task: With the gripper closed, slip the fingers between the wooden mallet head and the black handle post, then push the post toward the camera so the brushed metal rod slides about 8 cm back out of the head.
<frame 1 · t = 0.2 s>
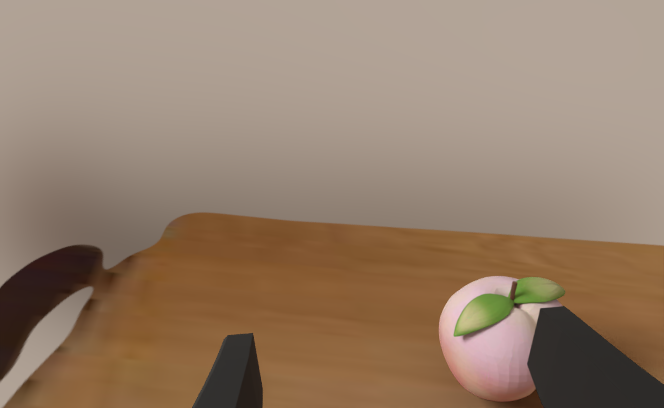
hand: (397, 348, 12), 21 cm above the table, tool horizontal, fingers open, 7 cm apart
decorative fruit: (489, 385, 38), on the table
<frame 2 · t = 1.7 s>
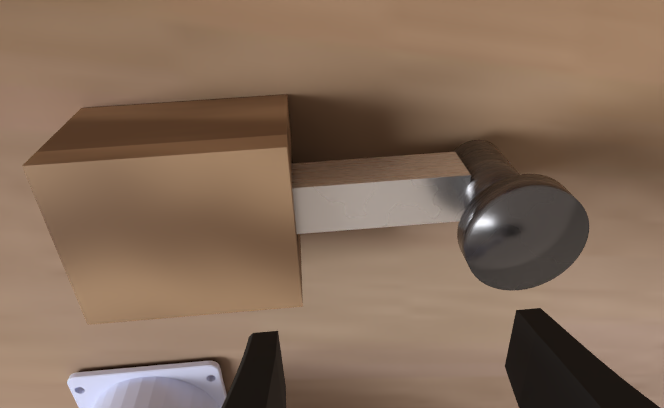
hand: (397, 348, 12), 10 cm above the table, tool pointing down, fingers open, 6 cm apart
handle rod: (315, 213, 18), point 4 cm above the table, slide at 0.0 cm
wooden mallet head: (200, 175, 21), on the table
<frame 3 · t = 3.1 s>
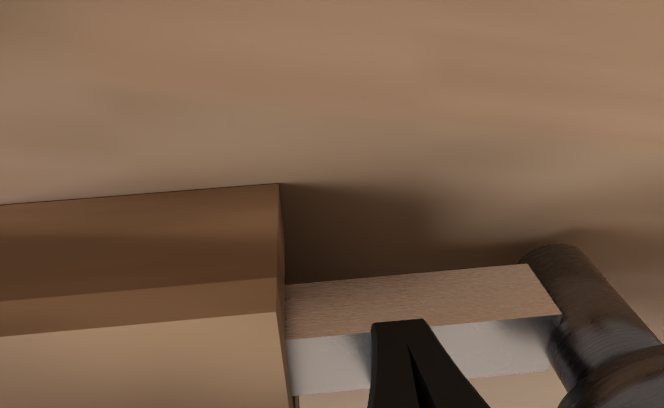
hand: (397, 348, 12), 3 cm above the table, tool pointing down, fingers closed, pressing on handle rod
handle rod: (328, 373, 12), point 4 cm above the table, slide at 0.2 cm, touching gripper
wooden mallet head: (156, 289, 15), on the table
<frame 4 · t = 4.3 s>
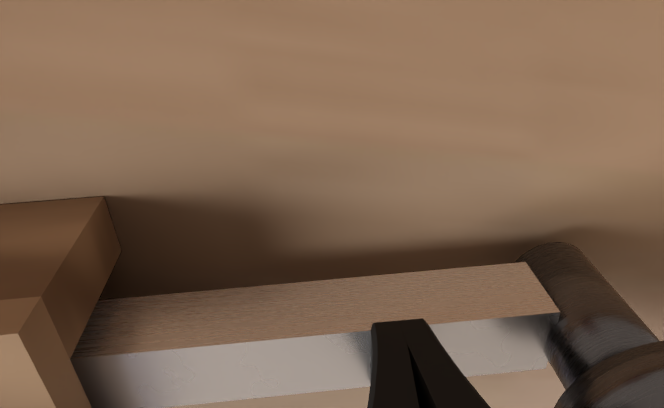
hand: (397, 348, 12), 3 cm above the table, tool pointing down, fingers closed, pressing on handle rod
handle rod: (327, 372, 12), point 4 cm above the table, slide at 4.8 cm, touching gripper
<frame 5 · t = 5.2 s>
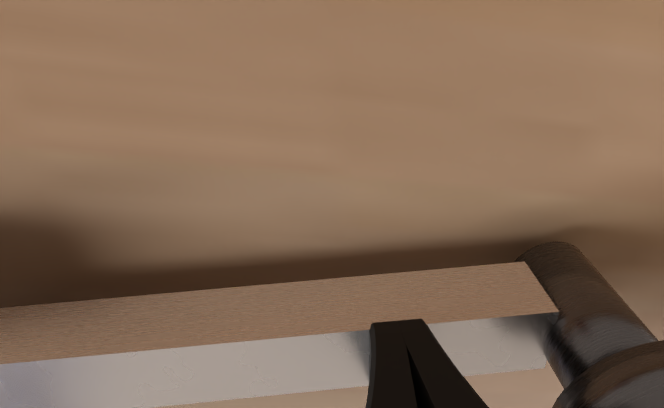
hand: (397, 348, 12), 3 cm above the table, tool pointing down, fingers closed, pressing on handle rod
handle rod: (326, 371, 12), point 4 cm above the table, slide at 10.2 cm, touching gripper
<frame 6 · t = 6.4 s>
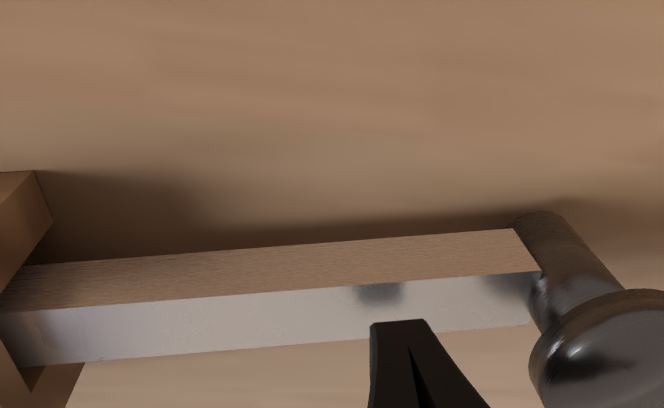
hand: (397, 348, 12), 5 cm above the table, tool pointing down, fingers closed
handle rod: (329, 322, 13), point 4 cm above the table, slide at 7.5 cm
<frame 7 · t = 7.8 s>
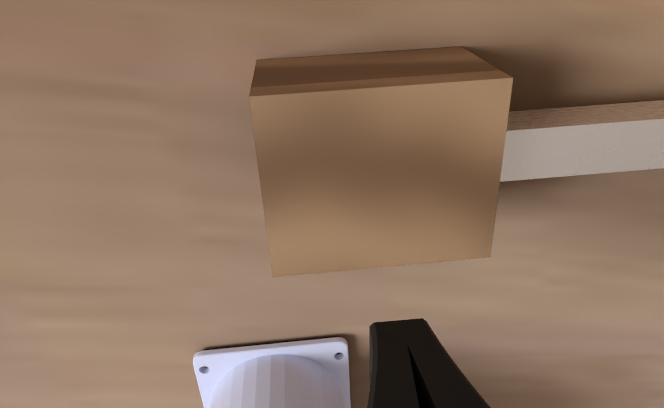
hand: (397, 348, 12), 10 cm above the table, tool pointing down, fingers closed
wooden mallet head: (361, 133, 21), on the table
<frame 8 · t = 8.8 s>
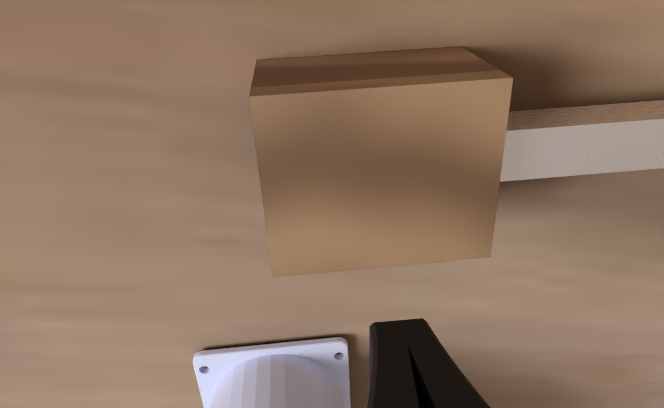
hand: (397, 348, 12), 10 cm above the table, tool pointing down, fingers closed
wooden mallet head: (361, 133, 21), on the table
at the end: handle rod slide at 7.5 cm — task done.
